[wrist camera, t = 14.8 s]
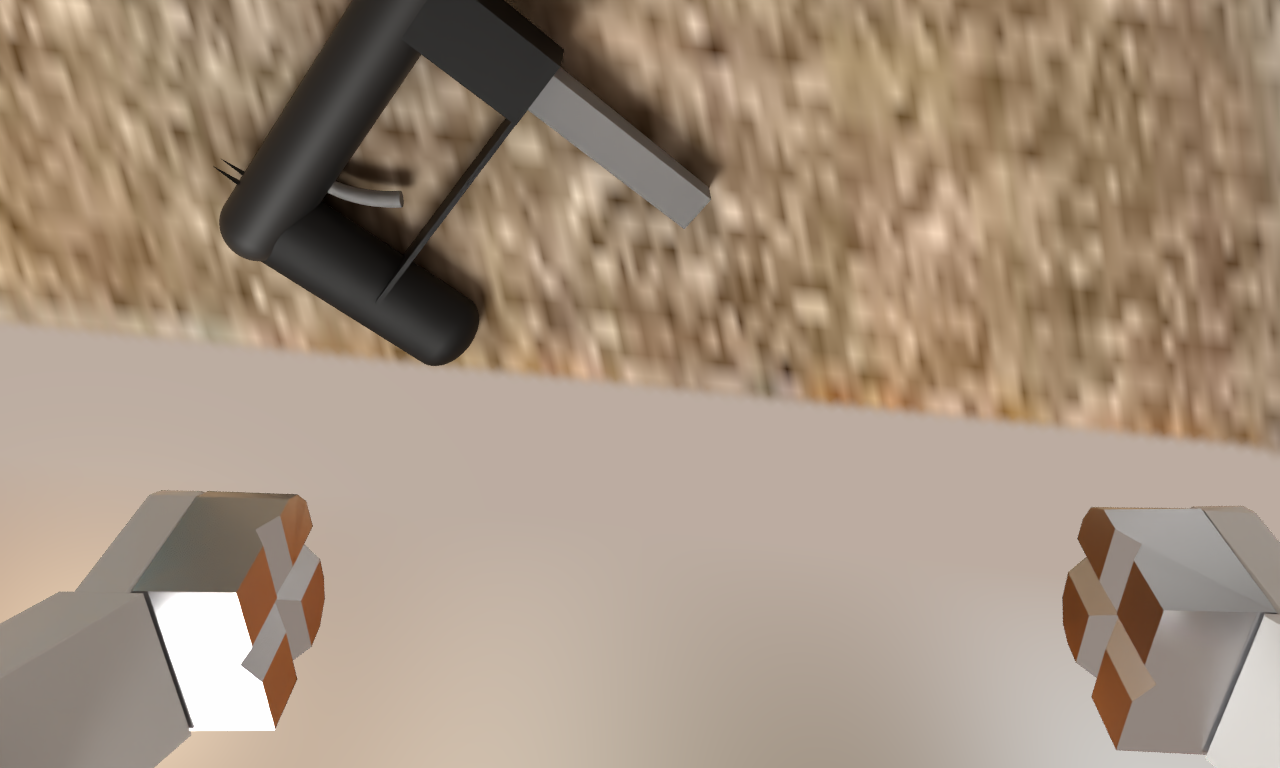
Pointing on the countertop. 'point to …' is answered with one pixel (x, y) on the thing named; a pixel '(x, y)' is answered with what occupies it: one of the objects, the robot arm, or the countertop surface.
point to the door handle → (354, 258)
